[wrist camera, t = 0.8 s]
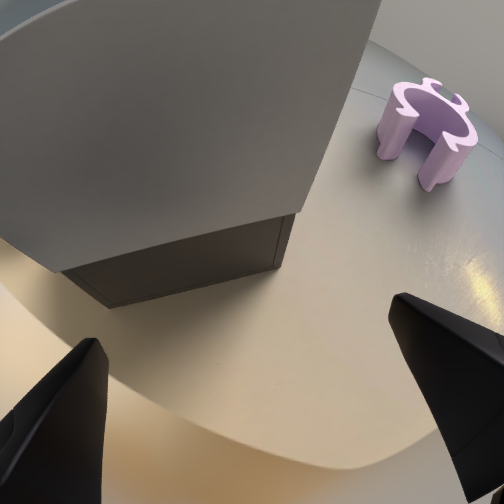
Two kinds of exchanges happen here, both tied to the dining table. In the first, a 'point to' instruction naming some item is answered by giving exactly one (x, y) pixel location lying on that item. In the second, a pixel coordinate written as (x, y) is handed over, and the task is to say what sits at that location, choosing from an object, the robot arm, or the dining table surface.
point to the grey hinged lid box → (185, 263)
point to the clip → (427, 129)
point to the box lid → (166, 118)
